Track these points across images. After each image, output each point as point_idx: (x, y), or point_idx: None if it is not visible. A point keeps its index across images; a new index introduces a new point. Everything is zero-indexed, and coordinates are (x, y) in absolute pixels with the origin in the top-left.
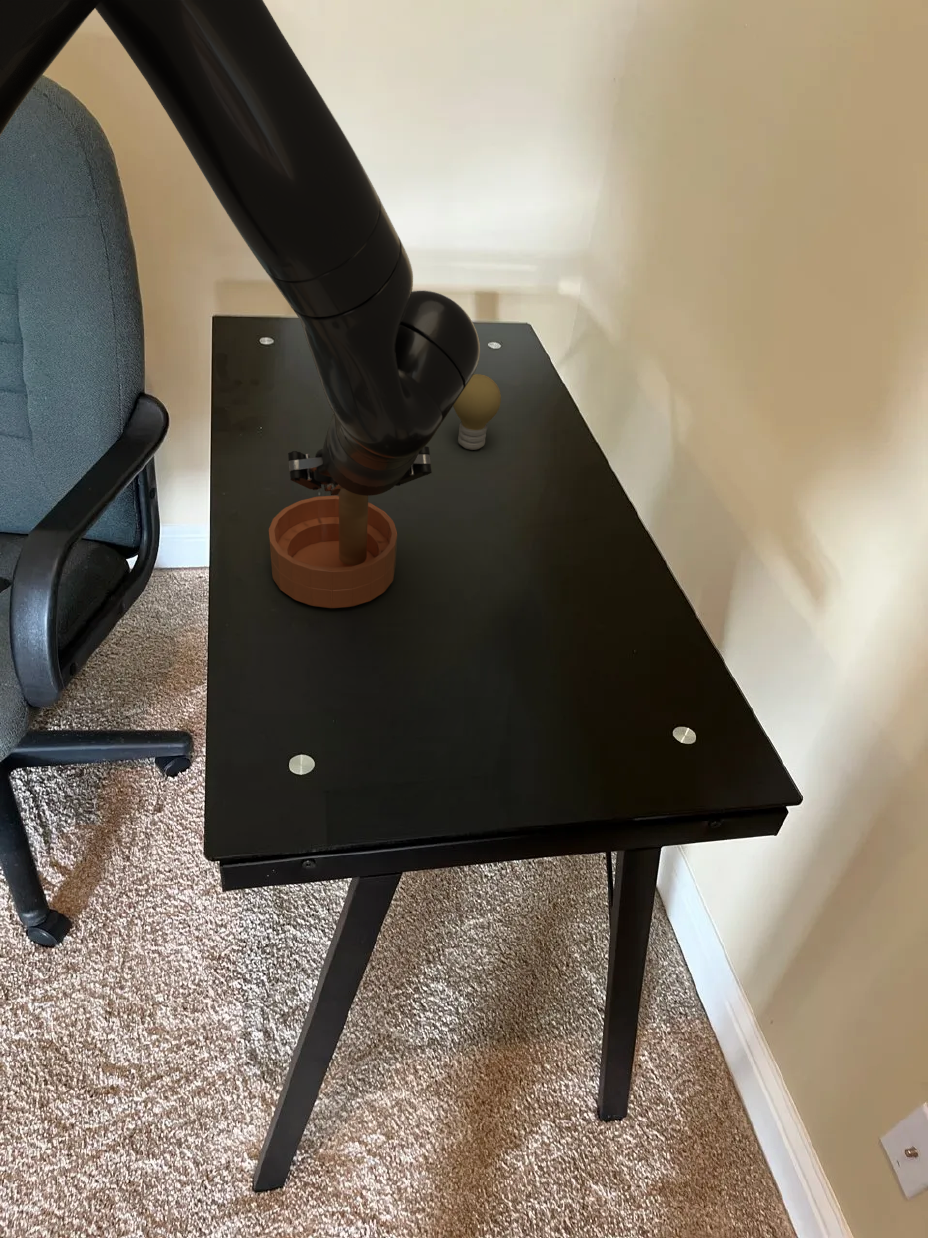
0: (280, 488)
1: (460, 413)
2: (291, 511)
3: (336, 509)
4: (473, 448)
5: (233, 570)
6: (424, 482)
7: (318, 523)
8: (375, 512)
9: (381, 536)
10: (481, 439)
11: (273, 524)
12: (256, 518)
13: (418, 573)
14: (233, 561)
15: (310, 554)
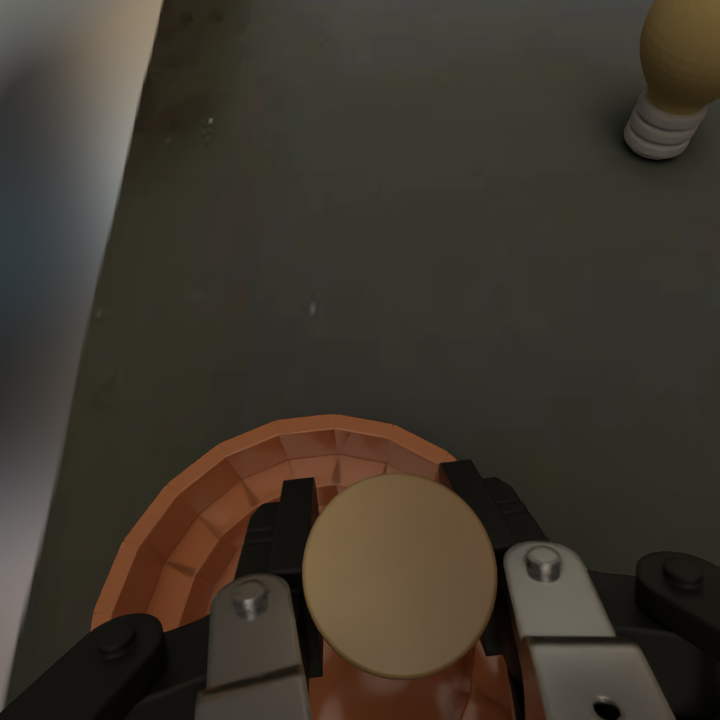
0: (225, 292)
1: (665, 76)
2: (192, 489)
3: (340, 445)
4: (663, 158)
5: (56, 622)
6: (559, 263)
7: None
8: None
9: None
10: (689, 137)
11: (114, 581)
12: (155, 399)
13: None
14: (65, 579)
15: None
